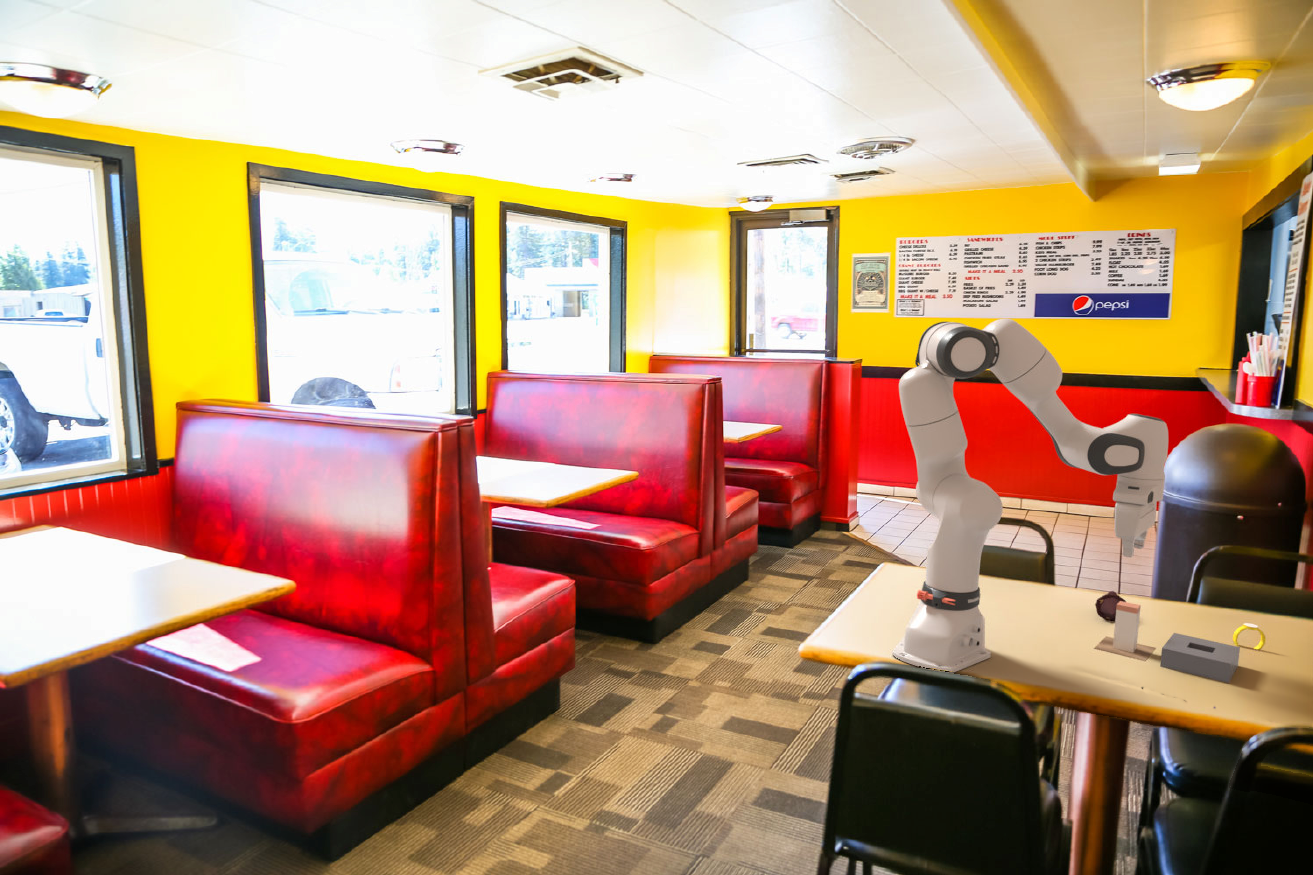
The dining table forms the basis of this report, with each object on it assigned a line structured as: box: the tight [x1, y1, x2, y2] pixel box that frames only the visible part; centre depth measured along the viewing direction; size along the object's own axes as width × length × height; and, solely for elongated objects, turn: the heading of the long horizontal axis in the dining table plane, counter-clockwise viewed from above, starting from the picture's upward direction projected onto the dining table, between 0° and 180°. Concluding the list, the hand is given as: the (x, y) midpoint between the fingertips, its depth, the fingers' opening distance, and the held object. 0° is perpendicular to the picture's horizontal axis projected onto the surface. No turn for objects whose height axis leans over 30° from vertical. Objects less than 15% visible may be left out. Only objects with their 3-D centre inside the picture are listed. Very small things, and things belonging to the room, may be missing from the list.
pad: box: [1093, 635, 1156, 662], centre depth 185 cm, size 10×10×1 cm
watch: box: [1232, 622, 1266, 650], centre depth 187 cm, size 6×3×6 cm, turn 79°
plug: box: [1113, 601, 1141, 653], centre depth 184 cm, size 3×4×10 cm
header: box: [1160, 632, 1241, 684], centre depth 176 cm, size 12×12×5 cm
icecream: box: [1094, 590, 1127, 623], centre depth 205 cm, size 7×7×15 cm
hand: (1133, 552), depth 182 cm, fingers open, 8 cm apart
